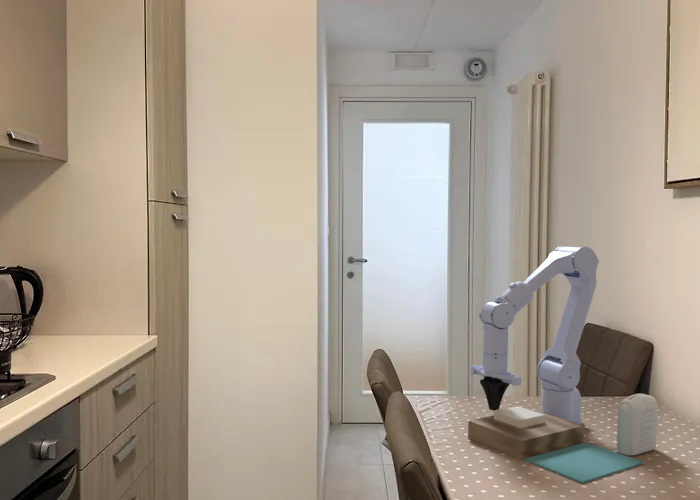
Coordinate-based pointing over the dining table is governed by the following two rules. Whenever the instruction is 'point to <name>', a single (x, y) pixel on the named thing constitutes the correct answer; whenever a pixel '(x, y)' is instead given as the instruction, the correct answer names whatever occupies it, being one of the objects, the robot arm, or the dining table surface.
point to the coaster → (519, 417)
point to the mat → (584, 462)
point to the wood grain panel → (526, 435)
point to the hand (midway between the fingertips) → (494, 409)
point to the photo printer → (637, 424)
